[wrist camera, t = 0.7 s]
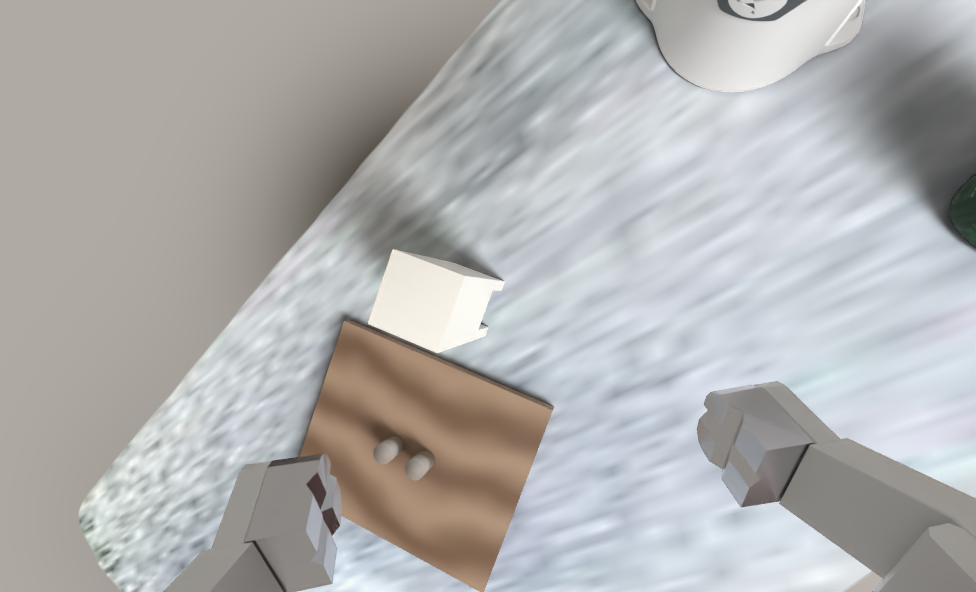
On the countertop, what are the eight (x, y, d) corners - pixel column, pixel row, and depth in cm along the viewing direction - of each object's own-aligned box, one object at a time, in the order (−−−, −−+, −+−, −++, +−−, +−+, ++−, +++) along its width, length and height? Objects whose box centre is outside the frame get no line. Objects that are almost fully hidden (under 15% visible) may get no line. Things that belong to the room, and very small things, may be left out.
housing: (452, 262, 47) (392, 248, 33) (505, 281, 46) (464, 275, 32) (434, 315, 47) (367, 323, 34) (485, 336, 46) (437, 353, 32)
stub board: (351, 320, 50) (327, 322, 45) (554, 406, 44) (549, 418, 40) (298, 481, 52) (270, 498, 47) (486, 583, 46) (474, 614, 42)
